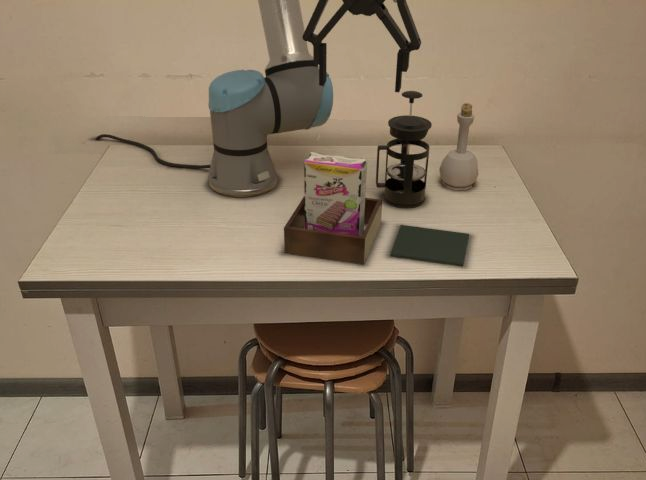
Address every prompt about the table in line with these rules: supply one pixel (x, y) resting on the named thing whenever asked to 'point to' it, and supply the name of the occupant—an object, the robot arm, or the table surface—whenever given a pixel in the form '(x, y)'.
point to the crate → (332, 236)
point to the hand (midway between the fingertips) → (360, 86)
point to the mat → (430, 245)
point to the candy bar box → (335, 193)
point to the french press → (405, 159)
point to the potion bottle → (460, 156)
